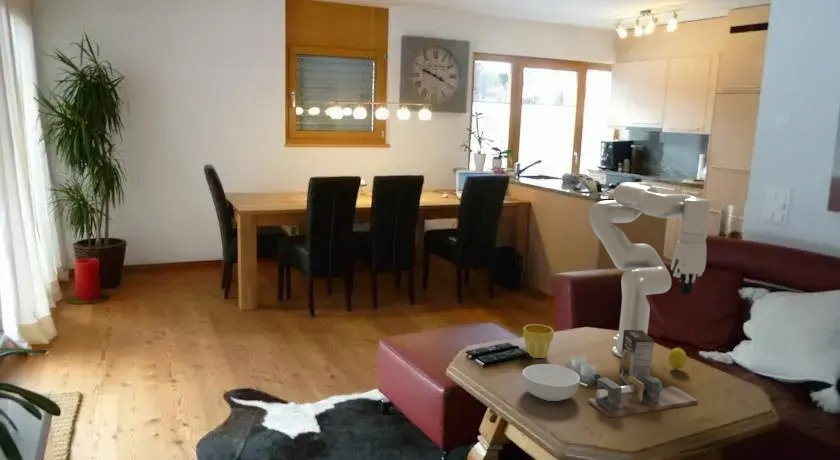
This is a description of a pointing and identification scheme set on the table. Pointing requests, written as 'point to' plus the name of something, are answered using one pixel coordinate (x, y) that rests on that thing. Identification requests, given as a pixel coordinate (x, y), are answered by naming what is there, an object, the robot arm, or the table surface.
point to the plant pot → (537, 339)
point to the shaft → (623, 390)
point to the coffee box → (635, 354)
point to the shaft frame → (638, 397)
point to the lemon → (677, 358)
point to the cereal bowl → (550, 381)
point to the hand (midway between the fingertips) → (685, 294)
